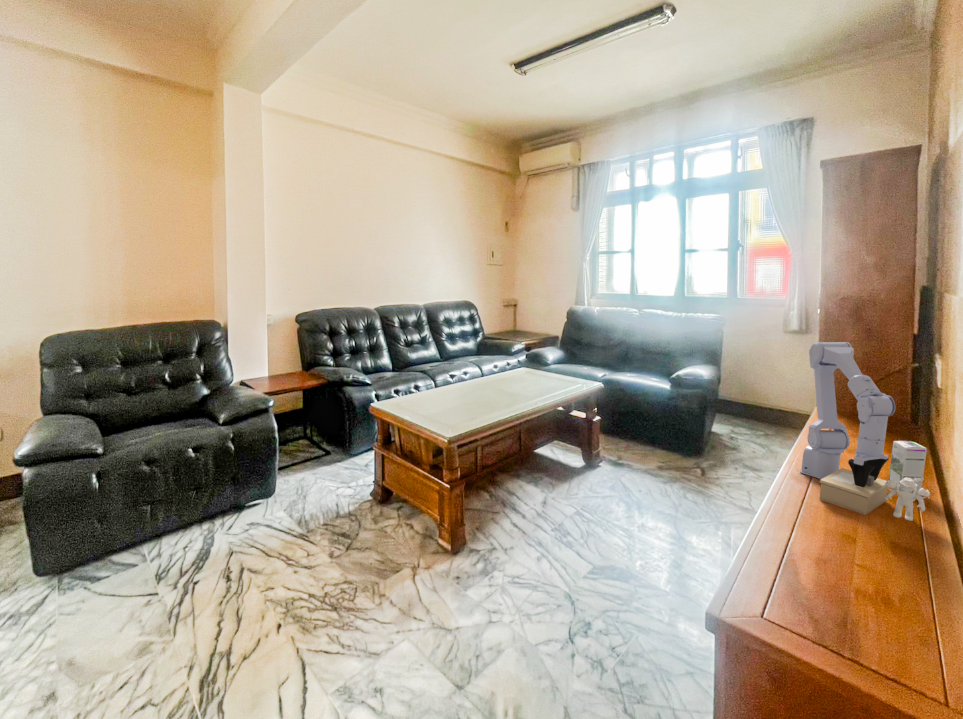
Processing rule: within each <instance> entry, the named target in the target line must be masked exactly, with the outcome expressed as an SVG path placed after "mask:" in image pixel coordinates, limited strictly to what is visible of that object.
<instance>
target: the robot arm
mask: <svg viewBox="0 0 963 719" xmlns="http://www.w3.org/2000/svg"><path fill="white" fill-rule="evenodd" d="M808 351H809V352H808V356H809V364H810V366H809V367H810V368H812V369H813V376H814V389H815V400H816V401H815V403H816V414H817V415H816V416H817V420H816V421H814V422H812V423H811V424H810V425H809V426H808V432H807V443H808V445H807V446H806V447H805V449H804V450H803V454H802V461H801V462H802V463H801V470H800V473H801V474H804V475H807V476H809V477H814V478H817V479H819V480H821V479H823V478H825V477H826V476H828V475H830V474H832V473H834V472H836V471H838V470H840V466H841V465H840V463H841V456H842V454H844V452H845V450H847V449H848V448H849V446H850V443H851V439H850V435H849V433H848V429H847V426H846V425H844V424H843V423H841V422H840V421H839V420H838V411H837V410H838V409H837V397H836V384H835V375H834V374H835V371H836V370H837V369H839V370H840V371H841V373H842V374H843V375H844V376H845V377H846V378H847V380H848V382H847V387H848V389H849V391H850V392H851V393H852V395H853V396H854V398H855V399H856V401H857V402H856V410H857V413H858V416H857V418H858V420H859V427H858V436H857V443H856V444H857V445H856V449H855V454H854V455H855V456H854V457H853V459H852V458H851V459H849V460H848V462H847V464H848V465H849V467H850V469H851V471H852V472H853V477H854V482H855V485H857V486H860V487H863V488H864V487H865V486H866V484H867V481H868V477H869V475H870V476H874V481H875V480H876V479H877V478H879V476H880V473H881V470H882V469H883V467H884V465H885V464H886V463H887V462H888V461H889V455H887V454H884V450H885V444H886V443H885V441H886V437H887V436H886V434H887V428H888V420H889V417H892V416H893V415H894V413H895V412H896V403H895V400H894V398H893V397H892V396H891V395H887V394H886V393H884V392H881V391H880V389H879V388H878V386H877V385H876V383H874V381H873V379H872V378H871V377H870V376H869V375H865V374H863V373H862V371H861V370H860V367H859V366H858V364H857V362H856V361H855V359H854V356H855V355H854V354H855V349H854V347H853V345H852V344H851V343H850V342H848V341H843V342H839V341H837V342H835V341H834V342H826V341H824V342H819V341H815V342H814V343H812V345H811V347H810V348H809V350H808ZM825 429H826V430H825Z"/></svg>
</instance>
